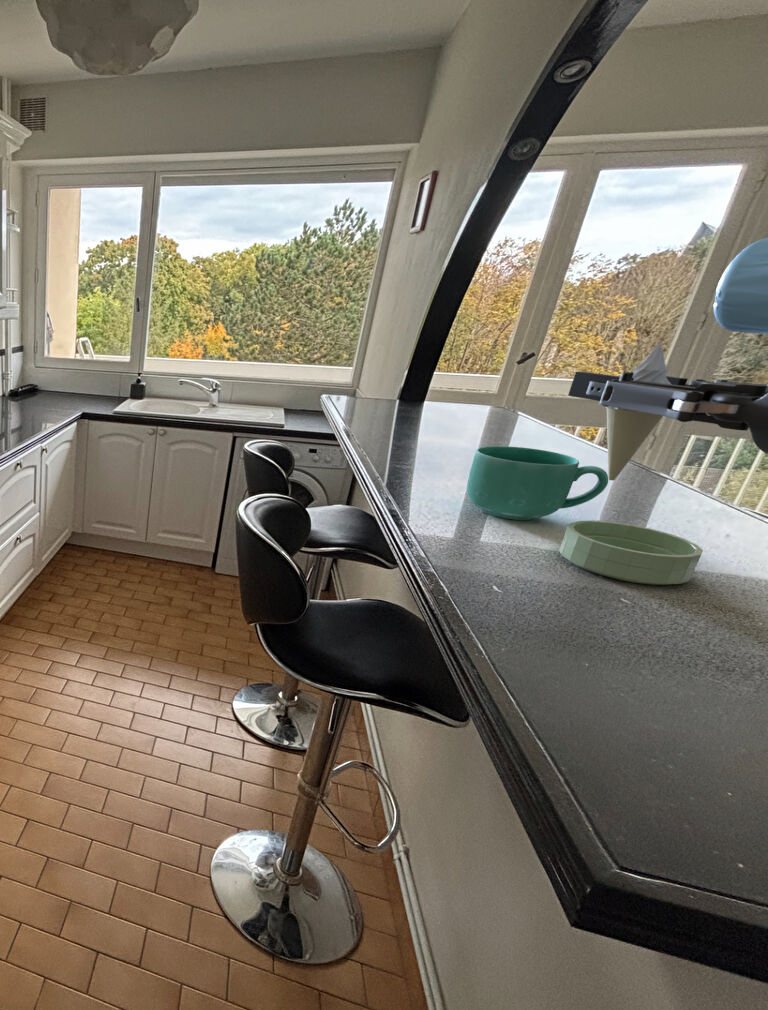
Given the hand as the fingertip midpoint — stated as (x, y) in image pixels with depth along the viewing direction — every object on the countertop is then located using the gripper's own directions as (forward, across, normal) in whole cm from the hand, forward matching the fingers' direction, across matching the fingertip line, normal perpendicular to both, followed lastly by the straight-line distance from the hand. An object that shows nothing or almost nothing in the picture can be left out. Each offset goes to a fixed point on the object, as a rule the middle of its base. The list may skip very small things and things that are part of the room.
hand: (599, 383), depth 68 cm
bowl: (-2, +9, -22) cm, 24 cm away
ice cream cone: (-5, 0, -10) cm, 12 cm away
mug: (+17, +11, -22) cm, 30 cm away
